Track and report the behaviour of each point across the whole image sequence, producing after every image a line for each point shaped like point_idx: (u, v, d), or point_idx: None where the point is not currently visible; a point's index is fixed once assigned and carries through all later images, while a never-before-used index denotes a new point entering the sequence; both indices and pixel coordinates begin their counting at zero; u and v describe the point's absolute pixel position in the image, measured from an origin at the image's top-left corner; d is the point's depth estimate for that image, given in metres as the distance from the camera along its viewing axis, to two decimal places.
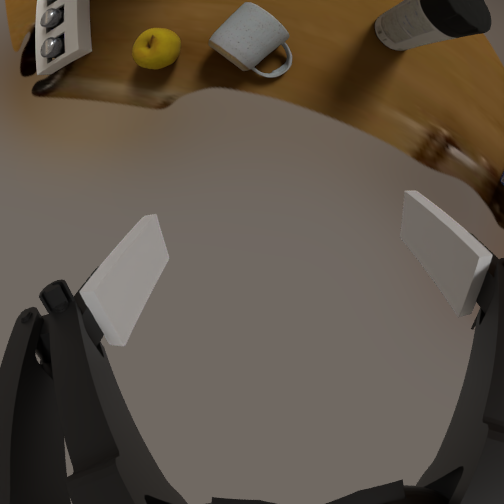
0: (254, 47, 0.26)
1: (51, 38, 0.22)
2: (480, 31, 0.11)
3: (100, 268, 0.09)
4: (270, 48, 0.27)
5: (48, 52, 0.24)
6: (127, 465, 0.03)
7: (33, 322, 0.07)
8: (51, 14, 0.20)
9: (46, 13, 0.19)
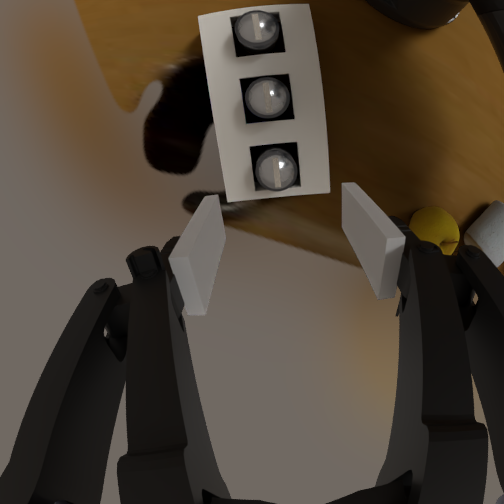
0: None
1: (286, 156, 0.22)
2: None
3: (183, 238, 0.11)
4: None
5: (280, 184, 0.23)
6: (192, 456, 0.04)
7: (108, 295, 0.08)
8: (280, 96, 0.19)
9: (265, 87, 0.19)
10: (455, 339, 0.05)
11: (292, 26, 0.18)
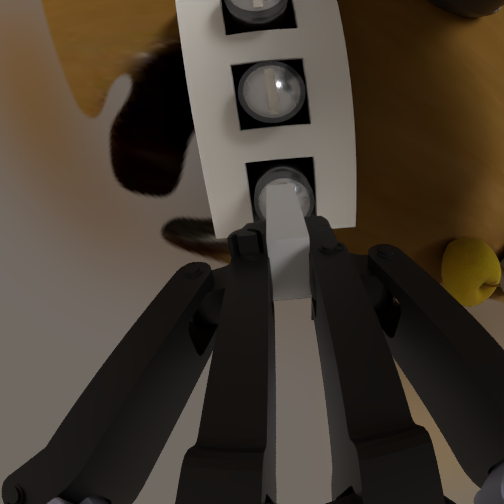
0: None
1: (298, 180, 0.15)
2: None
3: (270, 222, 0.11)
4: None
5: None
6: (267, 458, 0.04)
7: (201, 283, 0.08)
8: (291, 89, 0.12)
9: (268, 75, 0.12)
10: (373, 341, 0.05)
11: None
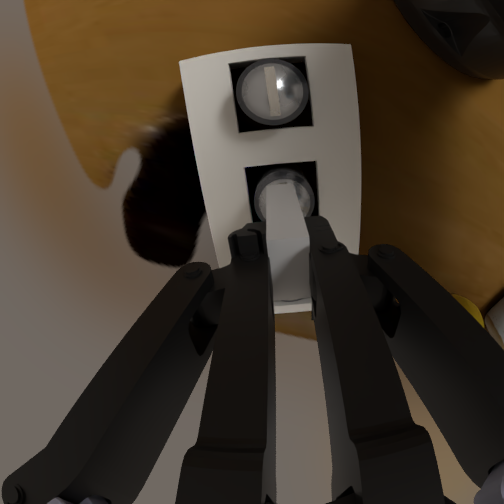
0: None
1: None
2: None
3: (270, 222, 0.11)
4: None
5: None
6: (267, 459, 0.04)
7: (201, 283, 0.08)
8: (302, 202, 0.16)
9: None
10: (373, 341, 0.05)
11: (325, 82, 0.13)
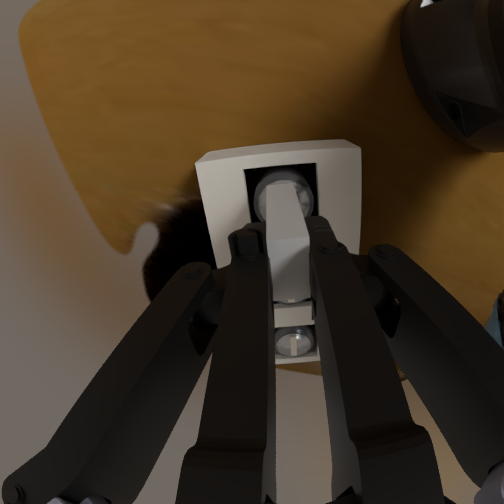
0: None
1: (304, 333, 0.22)
2: None
3: (270, 222, 0.11)
4: None
5: (296, 353, 0.23)
6: (266, 459, 0.04)
7: (201, 283, 0.08)
8: None
9: None
10: (373, 341, 0.05)
11: (333, 189, 0.16)
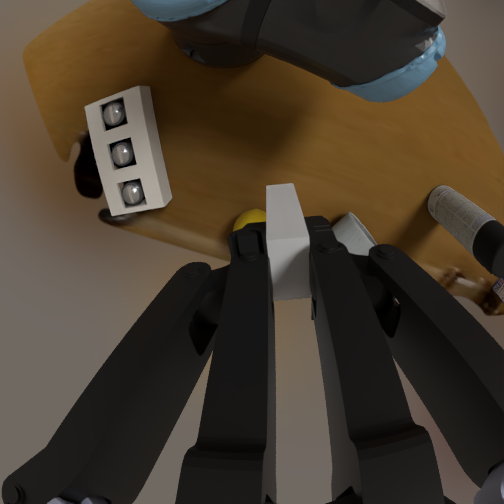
0: None
1: (134, 185, 0.38)
2: (502, 277, 0.25)
3: (270, 222, 0.11)
4: None
5: (133, 201, 0.39)
6: (266, 459, 0.04)
7: (201, 283, 0.08)
8: (126, 153, 0.35)
9: (118, 149, 0.35)
10: (373, 341, 0.05)
11: (130, 105, 0.32)
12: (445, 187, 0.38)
